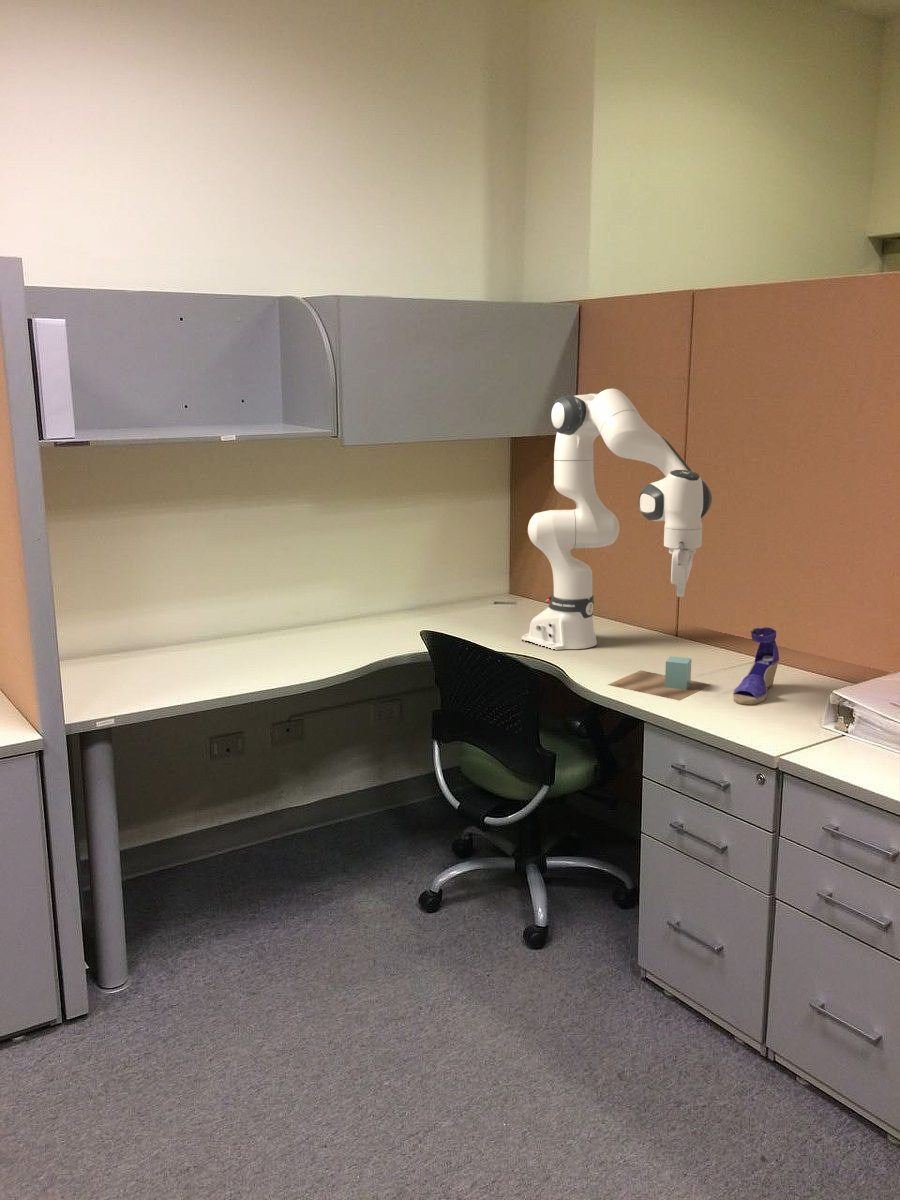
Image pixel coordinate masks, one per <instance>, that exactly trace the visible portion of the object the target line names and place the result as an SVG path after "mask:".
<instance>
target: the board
mask: <svg viewBox="0 0 900 1200" xmlns="http://www.w3.org/2000/svg"><path fill="white" fill-rule="evenodd" d="M607 686H610V687H614V688H615V687H616V688H619V689H620V688H621V689H623V690H624V689H625V690H629V691H634V692H637V693H638V692H639V693H642V694H647V695H652V696H656V697H661V698H666V699H671V700H676V701H678V702H679V701H682V700H684V699H686V698H688V697H690V696H692V695H694V694H695V693H697V692H700V691H701V690H702V691H703V690H704V689H706V688H707V687H710V686H712V684H711V683H706V682H700V681H695V680H692V679H691V684H690V685H689V687H688V688H687V689H686V690H684V689H675V688H666V687H665V674H661V673H656V672H653V671H652V672H651V671H647V670H638V671H636V672H633V673H632V674H628V675H626V676H624V677H622V678H619V679H617V680H615V681H612V682H610V683H608V684H607Z"/></svg>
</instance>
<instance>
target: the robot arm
mask: <svg viewBox="0 0 900 1200" xmlns="http://www.w3.org/2000/svg"><path fill="white" fill-rule="evenodd" d="M550 422H551V425H552V427H553V428H554V430H555V431H556V434H555V435H556V436H555V442H554V451H553V486H554V488H555V490H556V491H557V492H558V493H559V494H560V495H562V496H564V497H566V498H568V499H571V500H572V501H574V503H575V508H573V509H549V510H544V511H540V512H535V513H534V514H533V515H532V516H531V518H530V519H529V522H528V526H527V534H528V535H527V536H528V537H529V540H530V542H531V543H532V544H533V545H534V546H535V547H536V548H538V549H539V551H541V552H542V553H543V554H544V555H545V557H546V558H547V560H548V562H549V564H550V566H551V567H550V568H551V571H552V579H553V583H552V584H553V594H552V595H550V596H549V597H545V599H546V600H545V602H549V604H548V605H547V607H546V608H545V609H544V610H542V611H541V612H539V613H538V614H536V615H535V616H534V617H533V618H532V619H531V620H530V624H529V630H528V632H527V633H524V634H523V635H522V636H521V639H524V640H527V641H530V642H533V643H535V644H538V645H537V646H539V645H541V646H540V647H542V646H545V647H544V648H546V647H548V648H547V649H549V648H551V649H550V650H553V649H555V650H554V651H560V650H583V649H589V648H592V647H595V646H596V645H598V641H597V637H596V632H595V626H594V617H593V616H594V610H595V609H594V608H595V606H594V603H595V598H594V595H593V570H592V568H591V566H590V565H589V564H587V563H586V562H584V561H583V560H580V559H578V558H576V557H574V556H573V554H572V553H571V552H572V551H571V550H573V549H599V548H603V547H607V546H611V545H613V544H615V542H616V541H617V539H618V537H619V534H620V522H619V519H618V518H617V516H616V515H615V513H614V512H612V511H611V509H609V508H607V507H606V506H605V504H604V503H603V502H602V501H601V499H600V497H599V496H598V493H597V490H596V484H595V474H594V473H595V472H594V470H595V469H594V464H595V463H594V460H595V459H594V458H595V457H594V443H595V440H596V438H597V437H599V436H601V438H602V440H603V442H604V444H605V445H606V447H607V448H608V449H609V450H610V451H611V453H612V454H614V455H615V456H617V457H619V458H623V459H627V460H633V461H634V460H635V461H639V462H643V463H648V464H650V465H653V466H654V467H656V468H658V469H659V470H660V471H661V473H662V474H663V476H664V477H663V478H662V479H659V480H658V481H657V480H656V481H653V482H650V483H647V484H645V486H643V488H642V489H641V491H640V493H639V495H638V496H639V497H638V509H639V511H640V513H641V515H642V516H643V517H644V518H645V519H646V520H648V521H652V522H664V526H663V527H664V528H663V546H664V547H665V548H667V549H668V553H669V554H670V555H671V566H670V567H671V568H670V569H671V571H670V584H671V585H675V586H676V597H677V598H684V597H685V594H686V585H687V583H688V580H689V576H690V573H691V569H692V567H693V562H694V555H695V554H697V549H700V548H702V544H703V543H702V541H703V539H702V538H703V522H702V518H703V517H705V515H706V514H707V513H708V511H709V510H710V508H711V505H712V502H713V496H712V492H711V490H710V488H709V486H708V485H707V484H706V482H705V481H704V480H703V479H702V477H701V475H700V474H699V473H698V472H696V471H693V470H692V469H691V468H690V467H689V466H688V465H687V464H688V463H686V461H685V460H684V459H683V458H682V456H681V455H680V454H679V453H678V452H677V451H676V449H675V448H674V446H673V445H671V443H670V442H669V441H668V440H667V439H666V438H664V437H663V436H662V435H661V434H658V433H657V432H656V431H655V430H654V429H653V428H652V427H650V426H649V424H647V422H646V421H645V420H644V419H643V418H642V417H641V415H640V413H639V411H638V410H637V408H636V407H635V405H634V404H633V402H632V401H631V400H630V399H629V398H628V397H627V395H625V393H624V392H622V390H619V389H617V388H606V389H604V390H602V391H600V392H599V393H588V394H576V395H571V394H568V395H563V396H561V397H558V398H556V400H555V401H554V402H553V404H552V406H551V409H550ZM521 639H520V640H521ZM535 644H534V645H535Z"/></svg>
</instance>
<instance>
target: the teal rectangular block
mask: <svg viewBox="0 0 900 1200" xmlns="http://www.w3.org/2000/svg"><path fill="white" fill-rule="evenodd" d="M691 674H692V657H684V656H673V655H670V656H669V657H668V658H667V659H666V661H665V673H664V675H665V687H666V688H675V689H684V690H686V689H687V688H688V687H689V685H690V684H691V680H692V679H691V678H692V675H691Z"/></svg>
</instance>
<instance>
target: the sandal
mask: <svg viewBox="0 0 900 1200" xmlns="http://www.w3.org/2000/svg"><path fill="white" fill-rule="evenodd" d="M750 634H751V635H750V637H751V640H752V642H756V643H759V645H758V647H757V649H756V652H755V653H756V654H755V657H754V662H753V663H752V665H751V667H750V669H749V671H748V672H747V674H746V676H744V677H743V679H742V680H741V682H740V683H739V685H738V686H737V687H736V688H735V689H734V690H733V693H732V697H733V702H735V704H738V705H741V706H754V705H759V704H761V703H764V702H765V701H766V699H767V697H768V696H767V695H768V690H769V689H771V688H773V684H774V682H775V681H774V680H775V677H776V672H777V668H778V666H779V665H778V664H779V663H780V654H779V648H778V646H777V642H776V638H777V630H776V629H774V628H772V627H765V626H764V627H761V628H760V627H758V628H753V629H752V630H751V631H750Z"/></svg>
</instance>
